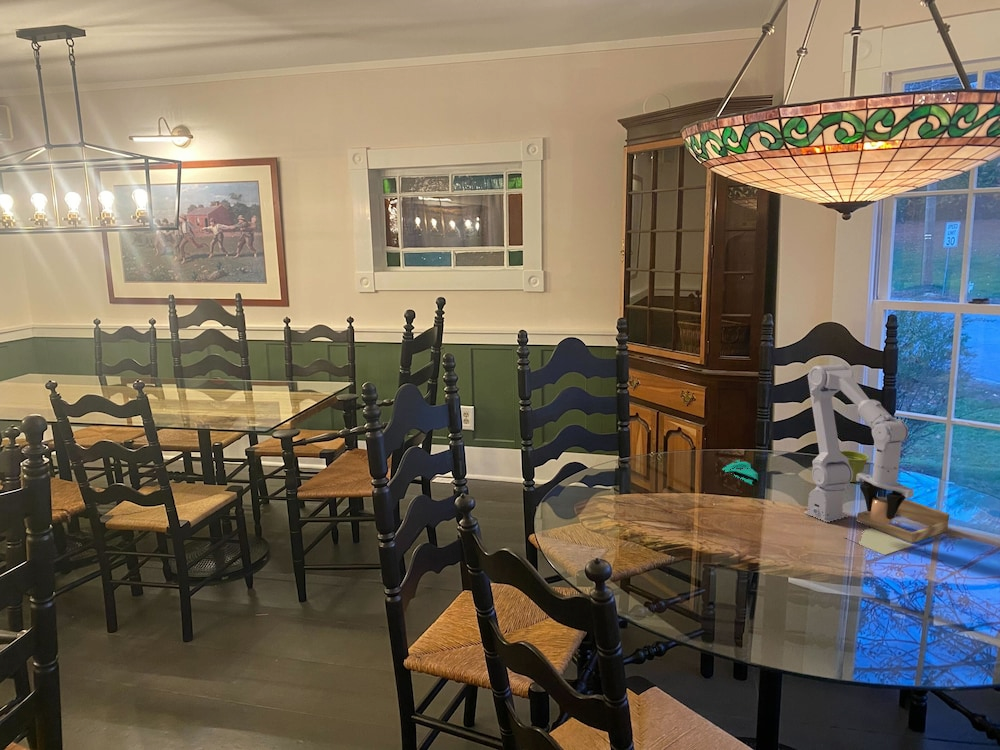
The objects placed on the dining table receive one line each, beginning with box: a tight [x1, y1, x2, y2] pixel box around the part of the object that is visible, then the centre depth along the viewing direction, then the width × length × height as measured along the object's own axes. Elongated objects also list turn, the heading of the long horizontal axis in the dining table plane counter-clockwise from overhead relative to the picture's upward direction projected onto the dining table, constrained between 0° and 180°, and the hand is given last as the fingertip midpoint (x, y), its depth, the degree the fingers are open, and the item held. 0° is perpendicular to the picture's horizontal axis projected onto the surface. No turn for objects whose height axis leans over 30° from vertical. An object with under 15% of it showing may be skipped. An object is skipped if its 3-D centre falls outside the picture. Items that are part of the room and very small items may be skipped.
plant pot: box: [840, 450, 869, 483], centre depth 230 cm, size 9×9×9 cm
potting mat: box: [858, 527, 914, 556], centre depth 185 cm, size 12×12×1 cm
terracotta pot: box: [870, 496, 893, 524], centre depth 183 cm, size 5×5×6 cm
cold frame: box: [856, 498, 951, 544], centre depth 194 cm, size 16×16×5 cm
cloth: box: [721, 459, 759, 486], centre depth 239 cm, size 26×14×2 cm, turn 158°
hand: (880, 514), depth 183 cm, fingers closed on terracotta pot, 5 cm apart
